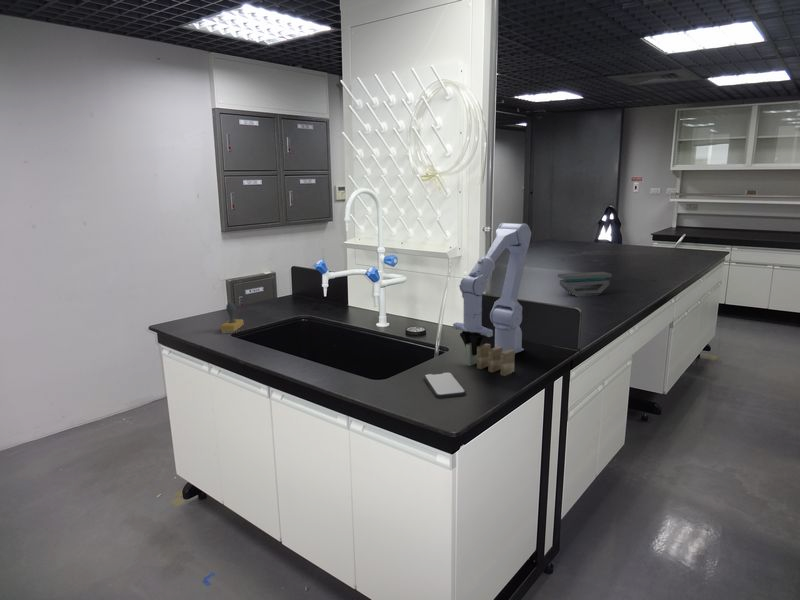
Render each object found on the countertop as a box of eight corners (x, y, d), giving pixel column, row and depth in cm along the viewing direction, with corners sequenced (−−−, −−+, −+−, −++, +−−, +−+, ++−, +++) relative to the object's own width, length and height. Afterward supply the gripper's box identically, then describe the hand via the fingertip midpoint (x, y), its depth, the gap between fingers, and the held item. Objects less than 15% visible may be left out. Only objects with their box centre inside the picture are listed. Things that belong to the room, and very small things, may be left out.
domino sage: (465, 365, 169) (465, 344, 167) (475, 361, 172) (475, 340, 171) (469, 366, 168) (469, 345, 166) (479, 362, 171) (479, 341, 170)
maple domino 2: (488, 371, 162) (488, 349, 161) (497, 367, 166) (498, 346, 164) (492, 372, 161) (492, 350, 160) (502, 368, 165) (502, 347, 163)
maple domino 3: (500, 374, 159) (500, 352, 158) (509, 370, 163) (510, 349, 161) (504, 375, 158) (505, 353, 157) (514, 371, 162) (514, 350, 160)
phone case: (467, 397, 145) (450, 376, 160) (467, 392, 144) (450, 371, 159) (436, 401, 143) (422, 379, 158) (436, 395, 143) (422, 374, 158)
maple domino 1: (476, 368, 166) (476, 346, 164) (486, 364, 169) (486, 343, 167) (480, 369, 164) (481, 347, 163) (490, 365, 168) (490, 344, 166)
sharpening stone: (602, 292, 273) (603, 271, 271) (610, 295, 266) (611, 274, 263) (557, 294, 270) (557, 273, 268) (563, 297, 263) (564, 276, 260)
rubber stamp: (234, 334, 213) (232, 305, 210) (221, 334, 213) (218, 305, 211) (244, 327, 223) (241, 300, 220) (231, 327, 223) (228, 300, 221)
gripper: (447, 312, 169) (447, 352, 172) (483, 319, 158) (482, 362, 161) (460, 308, 173) (460, 347, 176) (497, 315, 163) (496, 356, 166)
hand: (472, 354), depth 169 cm, fingers closed on domino sage, 1 cm apart
